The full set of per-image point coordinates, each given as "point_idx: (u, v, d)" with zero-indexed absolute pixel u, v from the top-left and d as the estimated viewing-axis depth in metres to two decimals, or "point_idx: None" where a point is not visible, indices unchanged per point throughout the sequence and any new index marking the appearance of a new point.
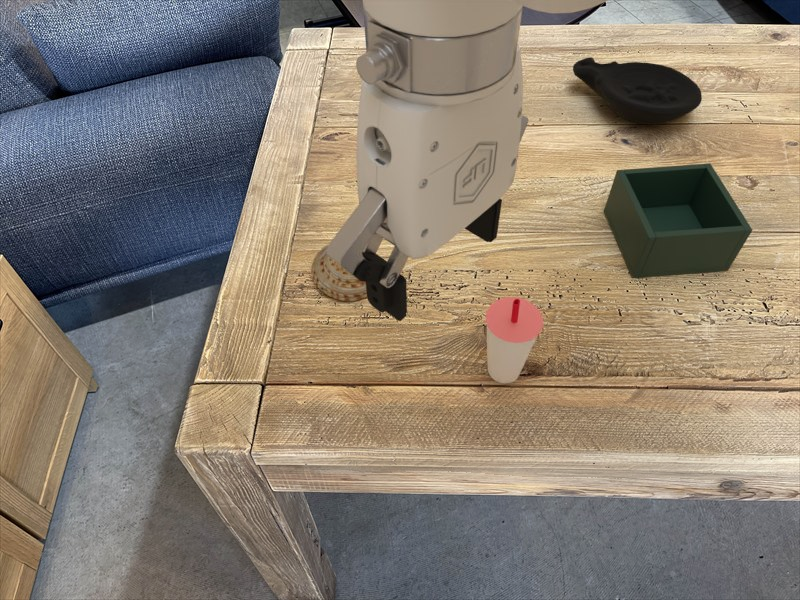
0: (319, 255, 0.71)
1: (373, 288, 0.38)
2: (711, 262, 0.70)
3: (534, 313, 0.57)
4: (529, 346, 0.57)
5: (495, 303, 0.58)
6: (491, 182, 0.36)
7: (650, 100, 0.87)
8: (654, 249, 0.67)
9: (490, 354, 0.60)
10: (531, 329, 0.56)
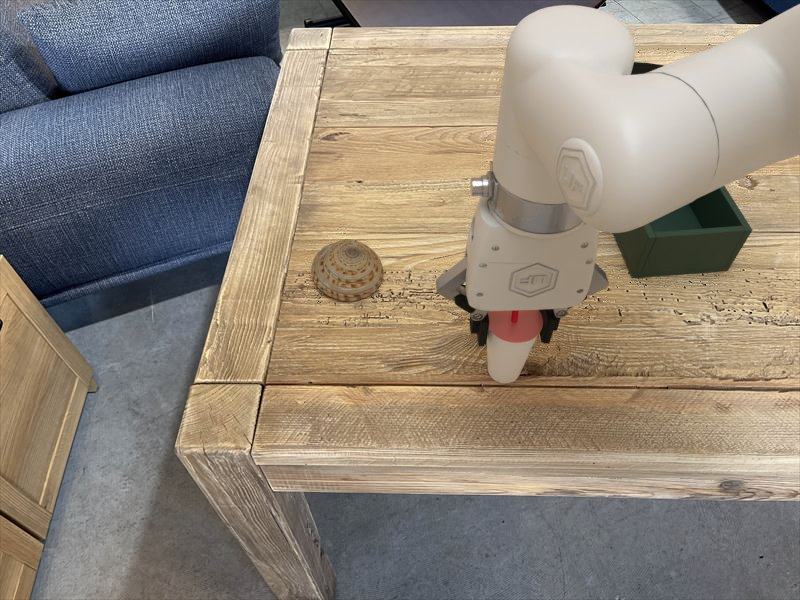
0: (319, 255, 0.71)
1: None
2: (711, 262, 0.70)
3: (534, 313, 0.57)
4: (529, 346, 0.57)
5: None
6: (551, 293, 0.49)
7: None
8: (654, 249, 0.67)
9: (490, 354, 0.60)
10: (531, 329, 0.56)
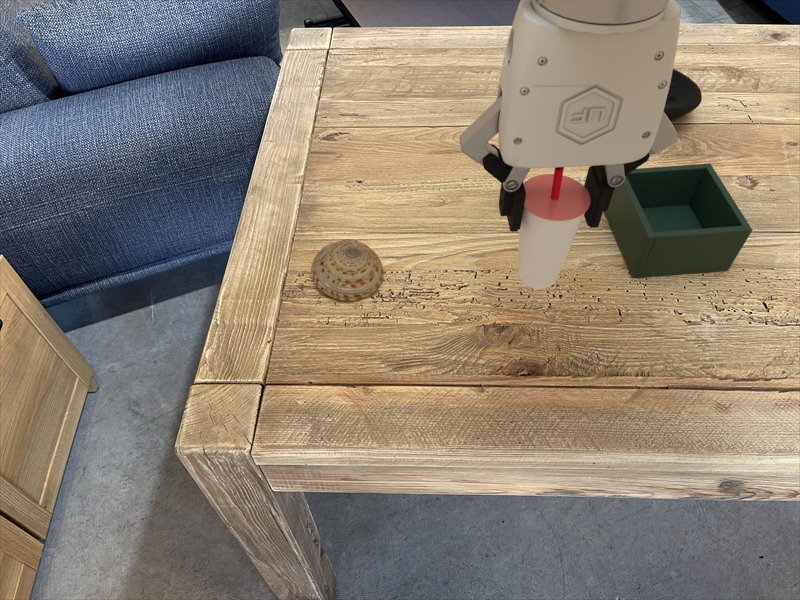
0: (319, 255, 0.71)
1: (502, 191, 0.45)
2: (711, 262, 0.70)
3: (579, 189, 0.46)
4: (573, 230, 0.46)
5: (530, 180, 0.47)
6: (609, 138, 0.38)
7: None
8: (654, 249, 0.67)
9: (523, 247, 0.49)
10: (576, 206, 0.45)
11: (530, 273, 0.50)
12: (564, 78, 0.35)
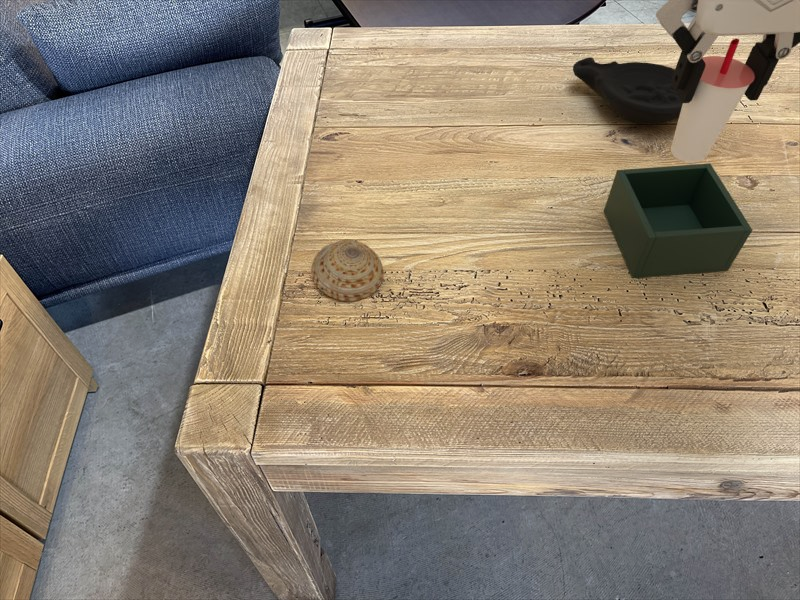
0: (319, 255, 0.71)
1: (680, 66, 0.54)
2: (711, 262, 0.70)
3: (742, 67, 0.55)
4: (738, 100, 0.54)
5: None
6: (794, 5, 0.47)
7: (650, 100, 0.87)
8: (654, 249, 0.67)
9: (687, 121, 0.57)
10: (744, 78, 0.53)
11: (688, 147, 0.59)
12: None
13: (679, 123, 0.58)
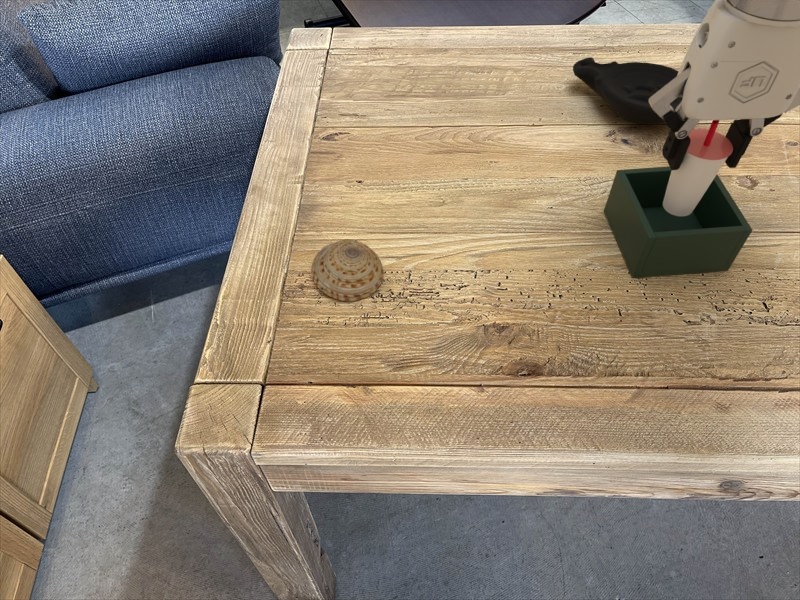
0: (319, 255, 0.71)
1: (669, 140, 0.63)
2: (711, 262, 0.70)
3: (723, 139, 0.64)
4: (719, 168, 0.64)
5: None
6: (763, 98, 0.56)
7: None
8: (654, 249, 0.67)
9: (676, 183, 0.66)
10: (723, 150, 0.63)
11: (677, 203, 0.68)
12: (743, 56, 0.53)
13: (669, 183, 0.68)
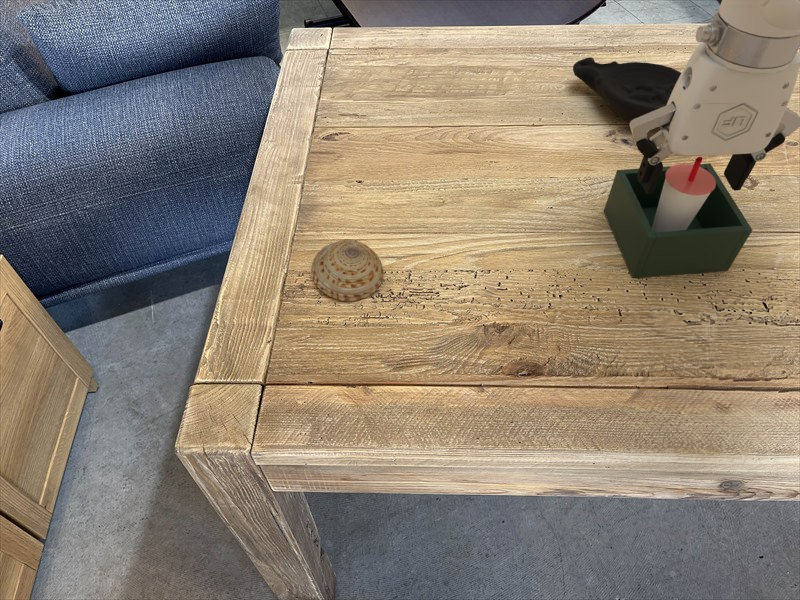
0: (319, 255, 0.71)
1: (643, 165, 0.66)
2: (711, 262, 0.70)
3: (706, 175, 0.68)
4: (703, 202, 0.67)
5: (671, 168, 0.68)
6: (744, 136, 0.59)
7: (650, 100, 0.87)
8: (654, 249, 0.67)
9: (662, 214, 0.70)
10: (707, 186, 0.66)
11: None
12: (724, 98, 0.56)
13: (656, 215, 0.71)
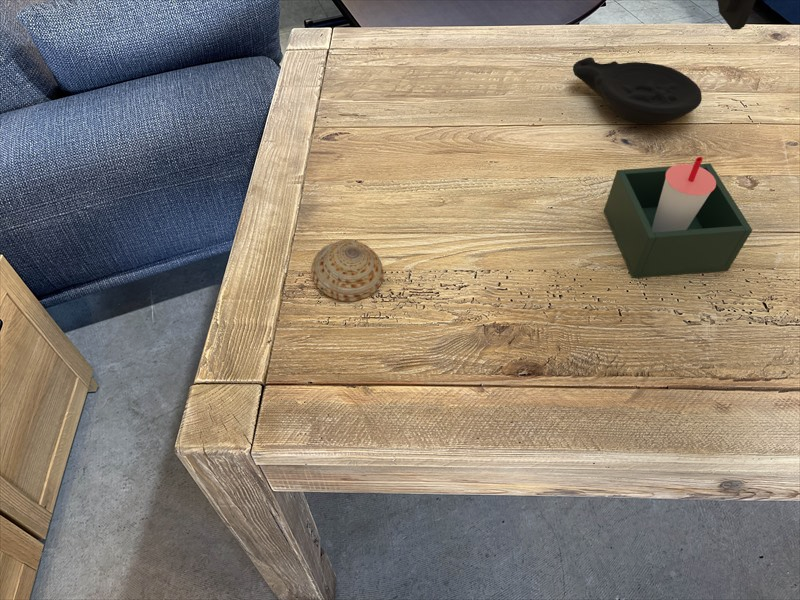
0: (319, 255, 0.71)
1: None
2: (711, 262, 0.70)
3: (706, 175, 0.68)
4: (703, 202, 0.67)
5: (671, 168, 0.68)
6: None
7: (650, 100, 0.87)
8: (654, 249, 0.67)
9: (663, 214, 0.70)
10: (707, 186, 0.66)
11: None
12: None
13: (657, 215, 0.71)
